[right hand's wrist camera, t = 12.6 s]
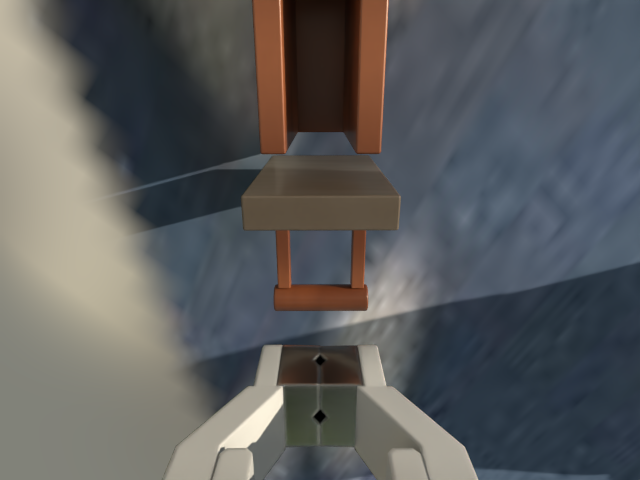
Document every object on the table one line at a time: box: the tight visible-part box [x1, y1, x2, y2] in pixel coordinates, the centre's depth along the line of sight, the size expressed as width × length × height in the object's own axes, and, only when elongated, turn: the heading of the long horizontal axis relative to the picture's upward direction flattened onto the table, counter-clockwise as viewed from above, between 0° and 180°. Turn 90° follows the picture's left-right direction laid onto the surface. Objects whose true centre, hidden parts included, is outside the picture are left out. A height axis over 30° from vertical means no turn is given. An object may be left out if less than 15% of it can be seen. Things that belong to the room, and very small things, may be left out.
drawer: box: [241, 0, 401, 311], centre depth 15 cm, size 22×5×9 cm, turn 0°
